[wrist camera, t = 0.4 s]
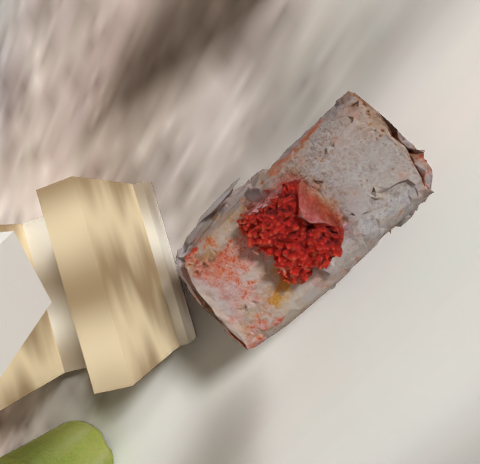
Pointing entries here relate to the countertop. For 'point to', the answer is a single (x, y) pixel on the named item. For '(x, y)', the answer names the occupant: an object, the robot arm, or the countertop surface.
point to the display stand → (99, 288)
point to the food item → (303, 221)
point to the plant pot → (64, 447)
